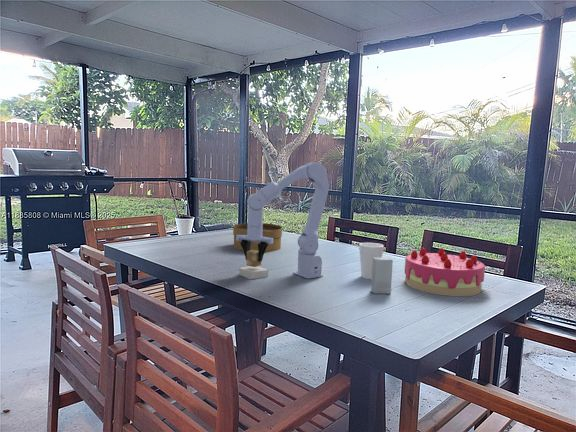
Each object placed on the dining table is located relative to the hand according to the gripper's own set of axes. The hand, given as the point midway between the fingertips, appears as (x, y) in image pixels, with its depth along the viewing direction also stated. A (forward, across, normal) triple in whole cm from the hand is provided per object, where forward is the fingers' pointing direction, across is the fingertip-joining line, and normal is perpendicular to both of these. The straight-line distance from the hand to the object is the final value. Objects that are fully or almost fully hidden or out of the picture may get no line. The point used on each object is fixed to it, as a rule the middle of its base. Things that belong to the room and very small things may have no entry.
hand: (254, 260), depth 162 cm
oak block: (+2, 0, 0) cm, 2 cm away
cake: (+6, -69, -20) cm, 72 cm away
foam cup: (+6, -42, -18) cm, 46 cm away
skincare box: (+6, -48, 0) cm, 49 cm away
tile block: (+6, 0, 0) cm, 6 cm away
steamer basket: (+6, +20, -52) cm, 56 cm away
